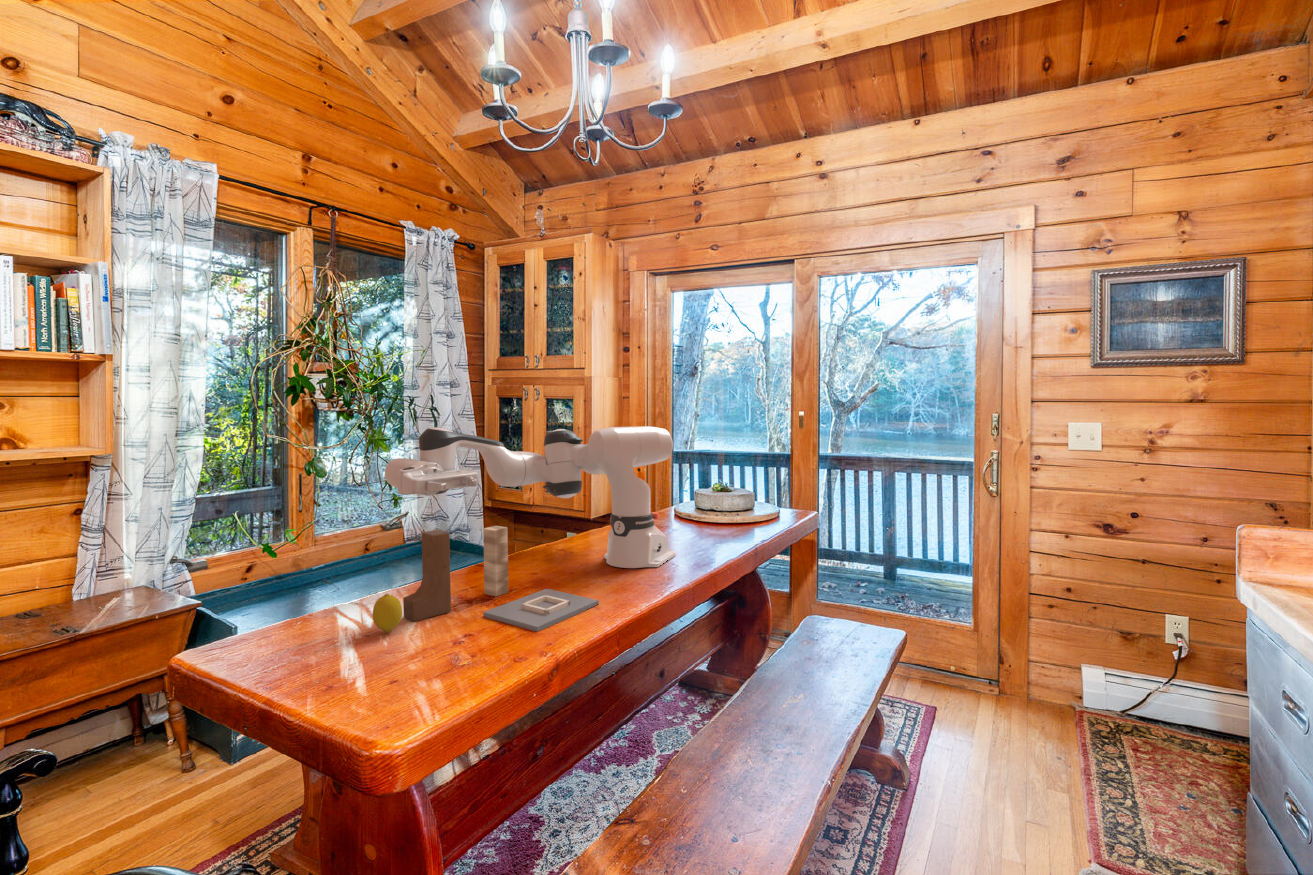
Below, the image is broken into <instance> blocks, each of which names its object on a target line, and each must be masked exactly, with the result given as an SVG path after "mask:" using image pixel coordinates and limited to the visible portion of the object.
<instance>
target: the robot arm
mask: <svg viewBox="0 0 1313 875" xmlns="http://www.w3.org/2000/svg"><path fill="white" fill-rule="evenodd" d="M543 440H544V441H543V446H544V456H543V455H542V454H540V453H536V452H533V451H532V452H531V451H519V450H516V451H515V450H514V451H513V450H510V449H507V447H505V444H504V443H503V442H501V441H499V440H496V439H490V438H487V437H484V436H478V435H473V434H472V435H471V434H466V433H461V432H455V431H453V430H450V429H448V428H445V427H437V426H436V427H429V428H426V429H425V430H424V431H423V432H422V433H421V434H420V436H418V447H419V448H418V450H419V460H418V459H414V458H408V457H407V458H406V457H405V458H404V457H403V458H402V457H401V458H393V459H391V460H390V461H389V462H388V463H386V464H387V465H386V467H385V468H384V478H385V480H386V482H387V484H388V485H391V487H394V488H396V489H397V493H398V495H401V496H404V495H419V496H427V497H428V496H430V497H431V496H434V495H441V494H444V493H447V491H449V490H452V489H453V490H454V489H460V488H462V489H463V488H467V487H477V486H478V484H479V473H478V472H477V471H472V470H465V469H463V470H462V469H457V470H456V451H457V448H458V447H461V448H467V449H473V450H476V451H478V452H479V453H480V455H481V457H482V459H483V462H484V465H485V470H486V471H487V475H488V476H489V478H490V479H491V480H492V481H493V482H494V483H495V484H497V485H498V486H500V487H510V488H511V487H513V488H514V487H523V486H528V485H533V484H537V483H544V484H545V485H542V488H543V489H546V490H547V492H548V493H549V494H550V495H552V496H553V497H555V498H556V497H557V498H559V499H560V498H561V499H570V498H573V497H574V496H576V495H578V494H580V493H581V491H582V489H583V480H582V471H583V472H585V473H587V474H590V475H596V476H597V475H599V476H601V475H605V476H606V478H607V480H608V483H609V486H610V492H611V493H610V494H611V513H610V517H609V521H610V522H609V523H610V524H609V526H610V527H611V528H610V530H608V534H607V535H608V536H607V548H606V553H604V556H603V557H604V559H605V560H606V561H605V562H606V564H607V565H609V566H611V567H616V568H622V569H623V568H624V569H640V568H658V567H661V566H662V565H664V564H665V563H666V561H667V560H668V561H670V560H672V559H673V558H674V557H676V555H677V554H676V551H674V550H672V549H669V547H668V538H667V536H666V534H665V533H663V532H662V531H661V529H659V528H658V527H657V526H656V525H655V520H657V521H658V519H659V518H660V513H659V512H654V511H651V492H652V490H651V488H650V485H649V483H648V482H646V481H645V480H644V479H642V478H640V477H638V476H637V475H636V473H635V469H634V468H639V467H644V466H649V465H654V464H657V463H662V462H664V461H667V460H668V459H669V458H670V457H671V455H672V452H673V449H674V442H673V438H672V436H671V434H670V432H669V431H668V430H667V429H665V428H662V427H658V426H657V427H656V426H651V425H650V426H649V425H644V426H641V425H639V426H612V427H611V426H609V427H605V428H601V429H597V430H594V431H593V432H592V433H591V434H590V436H589V439H588V441H587V444H586V443H585V444H582V443H583V442H584V439H583V438H581V437H579V436H578V435H577V434H576V433H575V432H574V431H572V430H568V429H565V428H557V429H554V430H551V431H550V432H548V433H547V434H545V436H544V439H543ZM668 561H667V562H668ZM663 563H664V564H663ZM660 565H661V566H660Z"/></svg>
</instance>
